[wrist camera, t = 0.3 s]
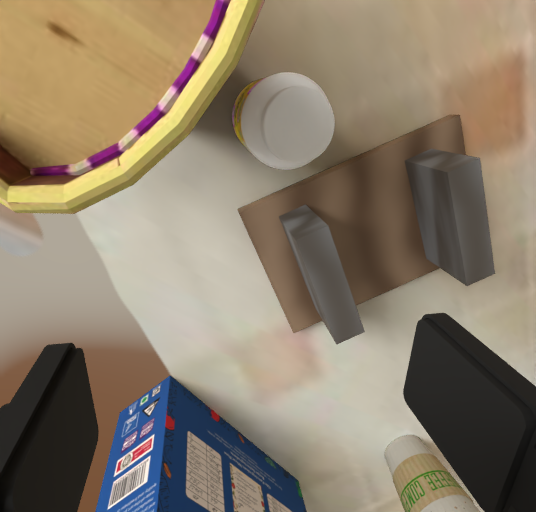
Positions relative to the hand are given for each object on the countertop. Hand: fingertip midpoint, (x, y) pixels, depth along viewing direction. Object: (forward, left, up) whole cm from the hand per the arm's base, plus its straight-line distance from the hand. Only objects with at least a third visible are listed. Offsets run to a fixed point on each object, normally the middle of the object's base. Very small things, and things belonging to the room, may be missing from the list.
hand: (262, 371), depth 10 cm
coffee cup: (-9, +50, -29) cm, 58 cm away
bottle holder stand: (-13, +12, -28) cm, 33 cm away
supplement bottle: (-7, -3, -29) cm, 30 cm away
